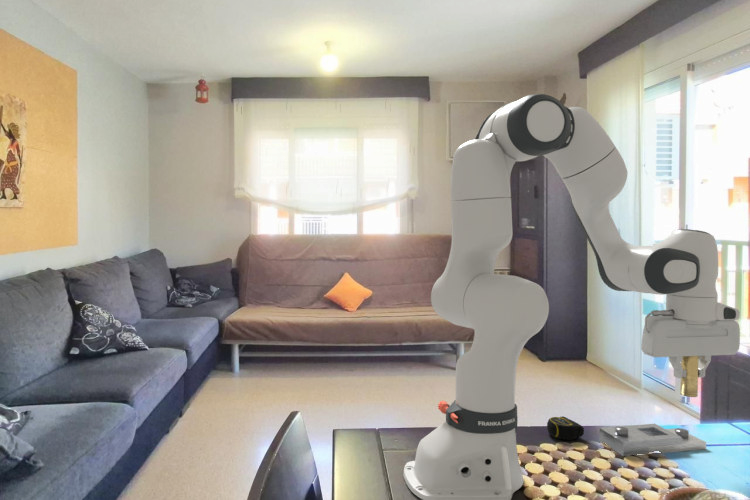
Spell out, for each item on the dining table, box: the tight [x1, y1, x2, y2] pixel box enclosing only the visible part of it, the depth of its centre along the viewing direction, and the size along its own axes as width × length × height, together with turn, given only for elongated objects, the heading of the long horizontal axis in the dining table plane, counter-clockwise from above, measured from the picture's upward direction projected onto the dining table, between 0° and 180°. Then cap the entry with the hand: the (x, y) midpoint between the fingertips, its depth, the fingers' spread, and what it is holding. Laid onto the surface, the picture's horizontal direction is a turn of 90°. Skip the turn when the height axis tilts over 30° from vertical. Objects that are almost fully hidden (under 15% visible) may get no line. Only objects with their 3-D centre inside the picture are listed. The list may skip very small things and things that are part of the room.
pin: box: [679, 356, 699, 398], centre depth 102 cm, size 3×3×10 cm
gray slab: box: [599, 423, 707, 457], centre depth 110 cm, size 20×8×4 cm, turn 101°
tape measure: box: [546, 416, 585, 441], centre depth 116 cm, size 7×7×4 cm
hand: (689, 377), depth 102 cm, fingers closed on pin, 3 cm apart
